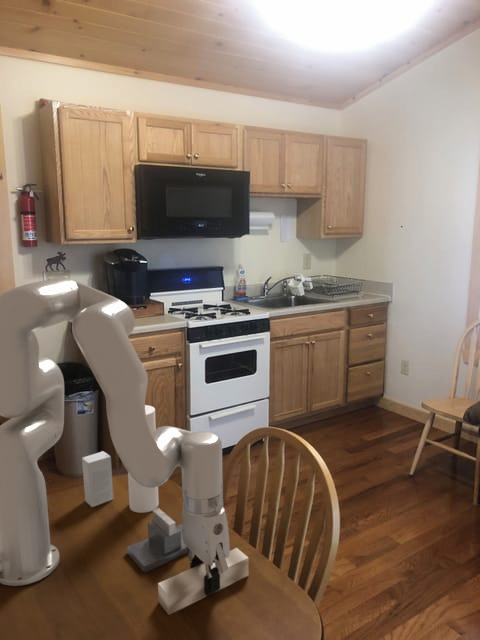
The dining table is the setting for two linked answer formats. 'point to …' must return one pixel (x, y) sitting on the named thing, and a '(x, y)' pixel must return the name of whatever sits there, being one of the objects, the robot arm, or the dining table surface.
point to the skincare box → (97, 478)
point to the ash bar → (199, 582)
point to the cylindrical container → (140, 495)
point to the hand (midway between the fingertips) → (205, 584)
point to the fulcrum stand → (158, 543)
